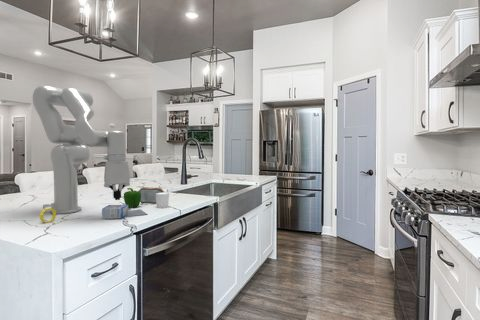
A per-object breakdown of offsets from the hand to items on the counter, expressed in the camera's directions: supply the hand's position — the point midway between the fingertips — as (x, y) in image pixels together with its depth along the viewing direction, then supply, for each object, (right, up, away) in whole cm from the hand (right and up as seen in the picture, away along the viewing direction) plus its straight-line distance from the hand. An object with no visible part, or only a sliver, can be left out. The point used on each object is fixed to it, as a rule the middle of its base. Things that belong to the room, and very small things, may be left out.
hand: (117, 199), depth 130 cm
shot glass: (+15, -7, +19) cm, 25 cm away
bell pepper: (0, -7, +19) cm, 20 cm away
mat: (+3, -7, +2) cm, 8 cm away
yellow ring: (-23, -8, -11) cm, 27 cm away
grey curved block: (+6, -6, +30) cm, 31 cm away
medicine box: (-4, -5, -3) cm, 7 cm away
